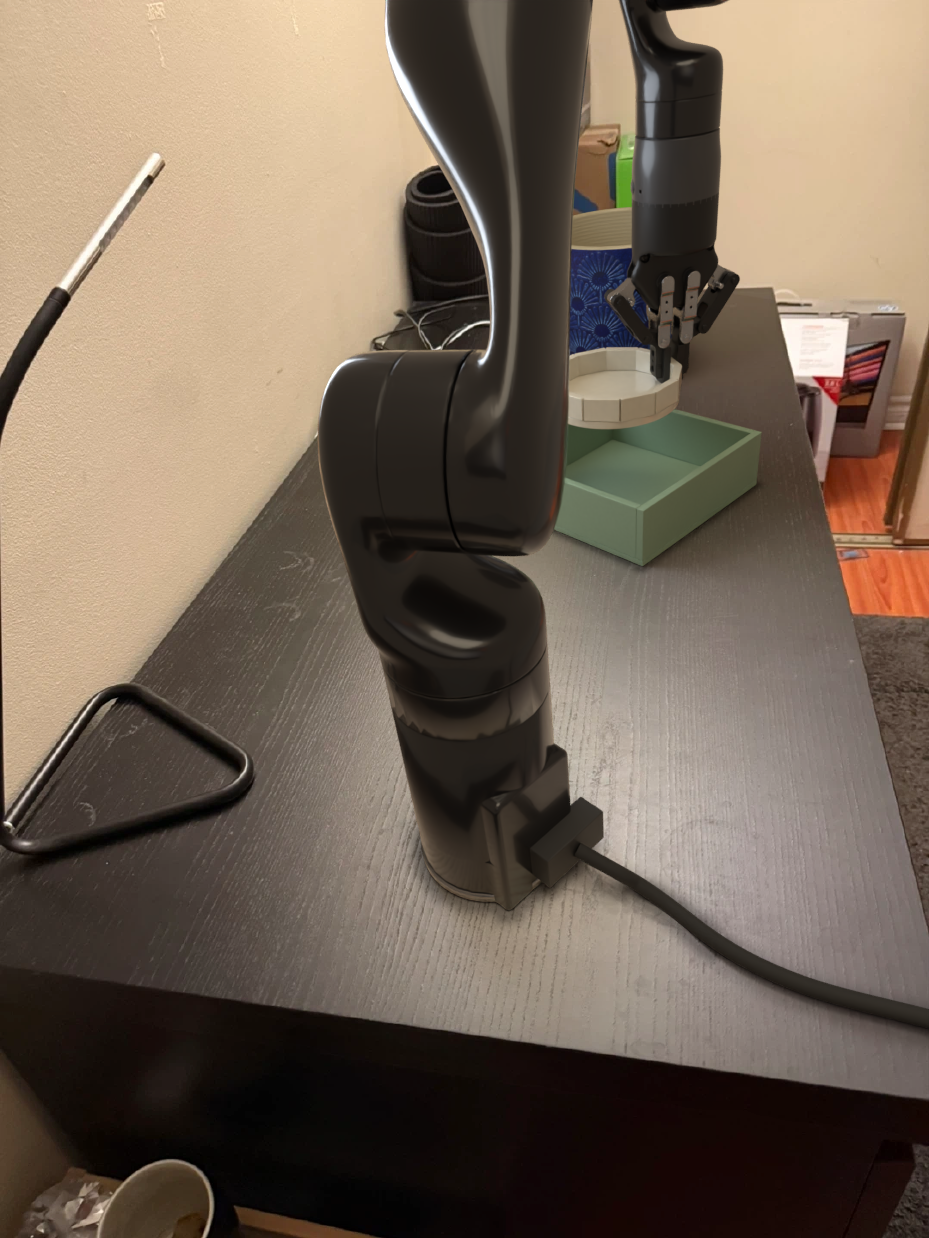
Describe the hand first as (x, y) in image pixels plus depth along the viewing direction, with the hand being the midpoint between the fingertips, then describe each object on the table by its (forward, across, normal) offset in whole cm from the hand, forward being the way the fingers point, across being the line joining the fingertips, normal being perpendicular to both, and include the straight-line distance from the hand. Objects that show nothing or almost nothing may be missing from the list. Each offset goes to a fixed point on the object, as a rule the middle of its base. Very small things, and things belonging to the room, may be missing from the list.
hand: (668, 379), depth 85 cm
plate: (+1, -6, 0) cm, 6 cm away
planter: (+12, +8, +34) cm, 37 cm away
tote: (+12, -5, 0) cm, 13 cm away
